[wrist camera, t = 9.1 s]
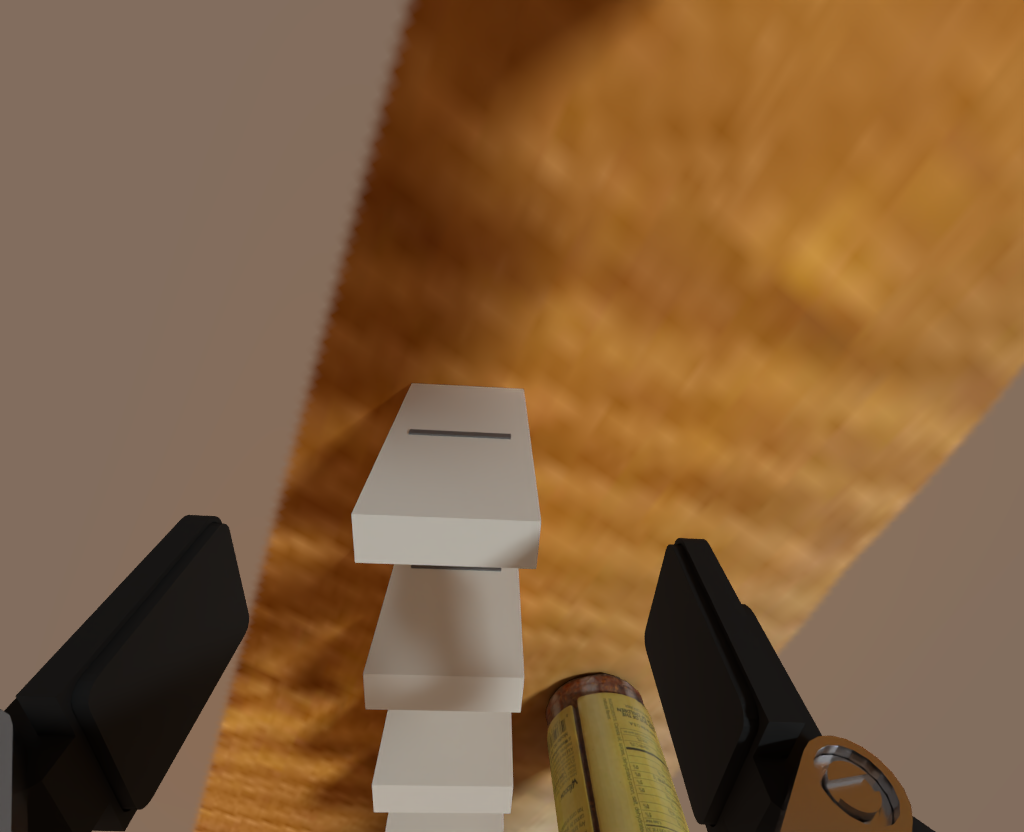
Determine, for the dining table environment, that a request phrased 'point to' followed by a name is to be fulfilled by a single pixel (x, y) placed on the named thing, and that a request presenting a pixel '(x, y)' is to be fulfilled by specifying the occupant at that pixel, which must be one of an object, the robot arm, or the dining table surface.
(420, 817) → the domino
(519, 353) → the dining table surface
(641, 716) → the sauce bottle
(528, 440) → the domino
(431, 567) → the domino
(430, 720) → the domino
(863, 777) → the robot arm
